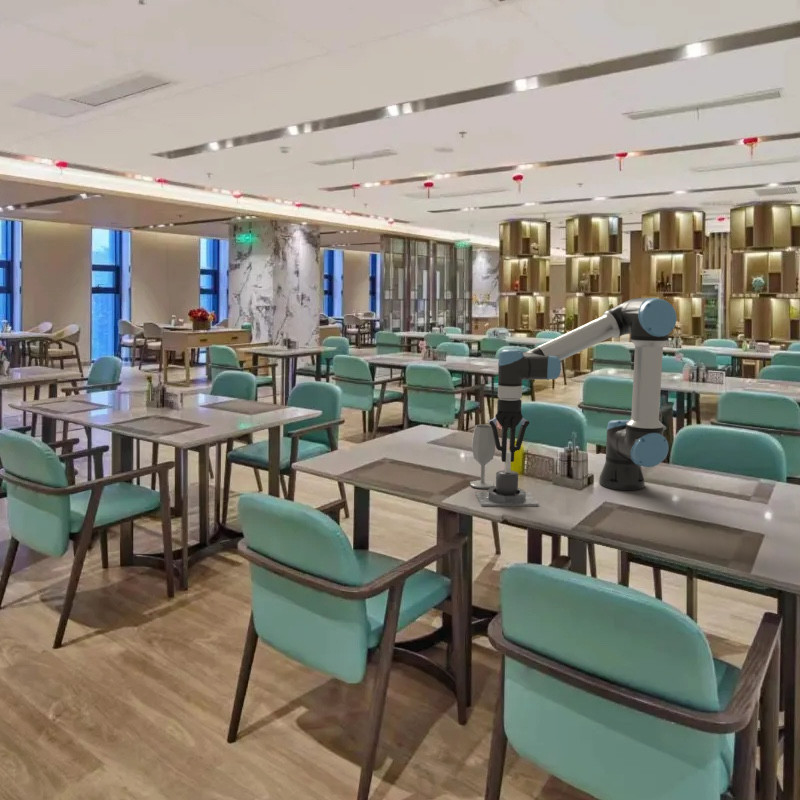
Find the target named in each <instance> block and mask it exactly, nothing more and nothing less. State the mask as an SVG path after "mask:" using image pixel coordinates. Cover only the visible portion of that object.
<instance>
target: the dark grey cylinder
mask: <svg viewBox="0 0 800 800" xmlns="http://www.w3.org/2000/svg"><path fill="white" fill-rule="evenodd" d="M495 487H496V493H497V494H503V495H515V494H518V488H519V473H518V472H516V471H514V470H511V471H510V473H506V472H505V471H504V469H503V470H499V471H496V473H495Z"/></svg>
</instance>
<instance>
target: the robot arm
mask: <svg viewBox="0 0 800 800" xmlns="http://www.w3.org/2000/svg"><path fill="white" fill-rule="evenodd" d="M602 314H603V315H602V316H599V317H598V318H596V319H594V320H591V321H589V322H587V323H585V324H583V325H581V326H578V327H576V328H575V329H573V330H571V331H569V332H566V333H563V334H562V335H560V336H557V337H556V338H553V339H551V340H549V341H547V342H545V343H543V344H540V345H538V346H536V347H534V348H532V349H530V350H525V351H524V350H522V349H515V348H513V349H512V348H506V349H501V350H500V351H499V355H498V363H497V366H498V370H497V372H498V374H497V377H498V379H497V381H498V382H497V383H498V384H497V398H498V399H497V403H496V405H497V409H496V410H497V411H496V414H495V416H494V417H493V418H492V419H489V420H488V421H487V422H488V423H489V424H488V425H491V427H492V431H493V436H494V441H495V449H496V450H498V451H500V452H501V455H500V456H501V458H500V459H501V461H502V462H503V463H504V465H503V466H504V468H503V470H504V471H505V472H506V473H510V471H512V470H511V469H512V468H511V467H512V465H511V464H512V463H513V462H515V452H517V451H520V450H521V448H522V444H523V442H524V441H523V440H524V436H525V433H526V429H527V428H528V426H530V421H529V420H528V419H526V418H524V417H523V413H522V403H523V402H522V401H523V400H521V399H522V397H523V396H522V395H523V394H522V393H523V380H525V381H527V380H535V381H536V380H547V381H549V380H556V379H558V378H559V377H560V375H561V372H562V371H561V370H562V364H561V361H563V360H565V359H567V358H569V357H572V356H573V355H576V354H578V353H580V352H582V351H584V350H586V349H589V348H591V347H592V346H595V345H597V344H600V343H602V342H604V341H606V340H607V339H610V338H614V339H618V338H619V337H621V336H624V335H628V334H630V342H632V343H633V345H634V360H633V376H632V377H633V378H632V379H633V381H632V395H631V396H632V397H631V398H632V400H631V414H630V415H631V417H630V419H611V420H609V421H608V422H607V428H606V440H605V441H606V447H605V463H604V465H603V467H602V470H601V471H600V475H599V478H598V481H599V483H598V484H599V485H600V486H602V487H605V488H607V489H612V490H617V491H637V490H642V489H644V488H645V476H644V473H643V470H642V467H644V468H653V467H657V466H658V465H660V464H662V462H663V461H664V460H666V457H667V455H668V453H669V446H670V445H669V441H668V440H667V439H666V437H665V436H664V424H663V423H662V422H661V420H660V409H661V408H660V407H661V404H660V403H661V390H662V373H663V372H662V371H663V357H664V354H663V352H664V347H665V345H666V344H668V342H669V340H670V333H671V332H672V331H673V330H675V328H676V324H677V321H678V320H677V319H678V318H677V313H676V309H675V307H674V306H673V305H672V304H671V303H670V302H669V301H667V300H665V299H663V298H658V297H634V298H631V299H628V300H625V301H624V302H622V303H620V304H618V305H616V306H613V307H612V308H610V309H608V310H605V311H604V312H603V313H602ZM498 424H499V425H500V426H501V442H500V437H499V433H498V429H497V425H498ZM519 424H520V428H519V431H518V435H517V438H516V427H518V425H519ZM508 428H509V449H508V448H507V447H508Z"/></svg>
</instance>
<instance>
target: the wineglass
mask: <svg viewBox="0 0 800 800" xmlns="http://www.w3.org/2000/svg"><path fill="white" fill-rule="evenodd" d="M471 450H472V455H473V459H474V460H475V461H476V462H477V463H478V464H480V480H472V481H469V483H470V487H473V488H474V489H475V488H476V489H484V490H485V489H487V490H488V489H490V488H492V487H496V484H495V482H494V481H490V480H485V475H486V474H485V472H486V465H488V464H489V463H490V462H491V461H492V460H493V459H494V456H495V453H496V445H495V441H494V436H493V431H492V427H491V425H490V424H475V427H474V429H473V434H472V439H471Z"/></svg>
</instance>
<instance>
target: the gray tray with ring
mask: <svg viewBox="0 0 800 800" xmlns="http://www.w3.org/2000/svg"><path fill="white" fill-rule="evenodd" d="M475 496H476V498H477V500H478V502H479V504H480V506H481V507H539V502H538V500H537V499H536V498H535V497H534V496H533V495H532V493H531V492H530V491H528V492H526V491H525V490H524V489H522V488H520V487H518V494H515V495H503V494H497V493H496V486H495V487H492V488H488V489H487V491H486V492H485V491H483V492H482V491H481V492H478V491H477V492H475Z"/></svg>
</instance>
